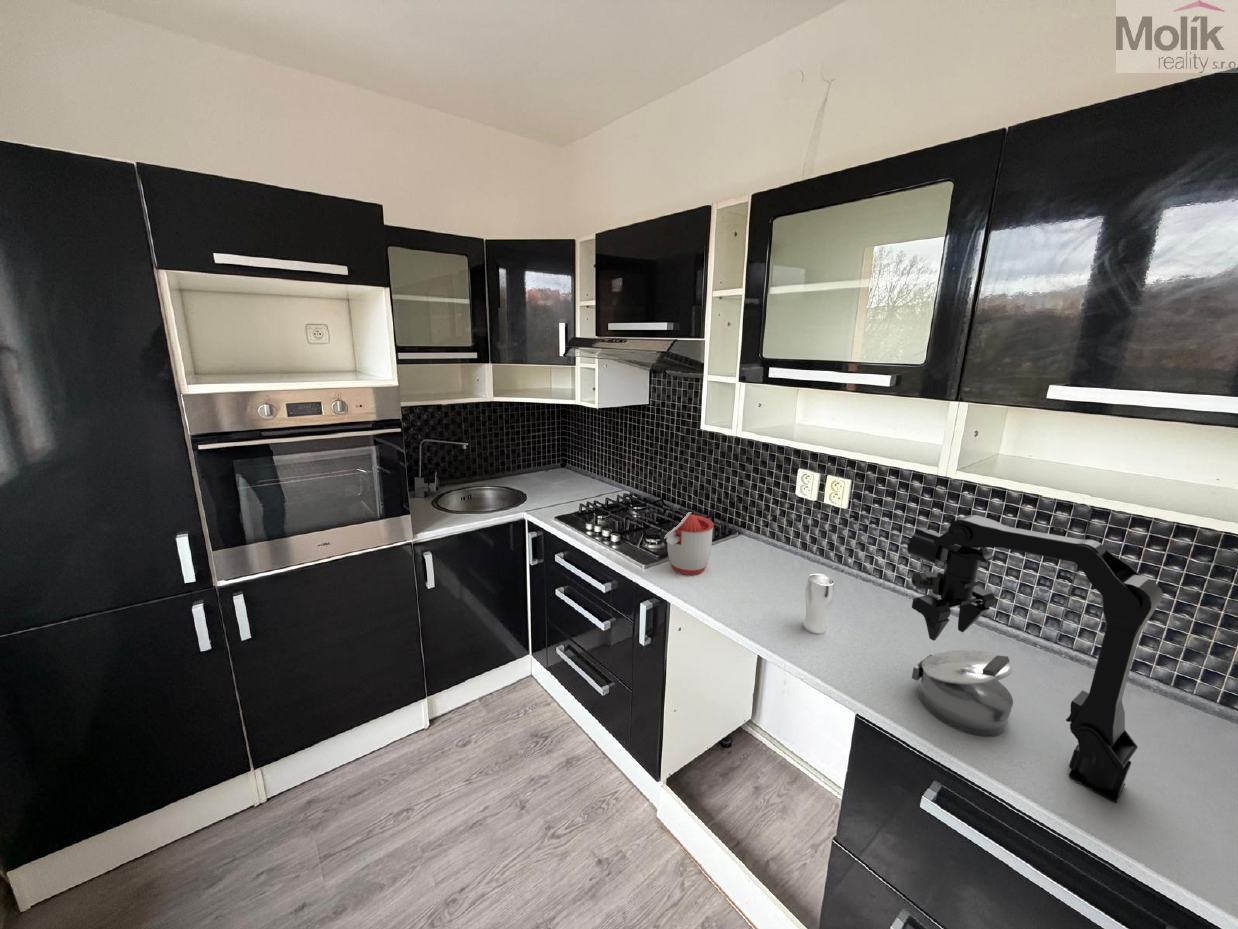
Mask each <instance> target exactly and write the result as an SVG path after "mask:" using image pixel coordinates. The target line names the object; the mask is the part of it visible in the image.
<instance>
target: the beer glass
mask: <svg viewBox="0 0 1238 929" xmlns="http://www.w3.org/2000/svg"><path fill="white" fill-rule="evenodd" d="M834 593H835V580H834V578H832V577H831V576H829V575H827V574H823V573H812V574H811V573H810V574H809V575H808V579H807V583H806V588H805V612H806V613H805V618H804V621H803V623H802V627H803V628H804V629H805V630H806V631H807V632H809V633H812V634H815V635H822V634H824V633H826V632H827V630H828V628H827V618H828V614H829V611H830V609H831V606H832V603H833V599H834Z"/></svg>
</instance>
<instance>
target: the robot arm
mask: <svg viewBox="0 0 1238 929" xmlns="http://www.w3.org/2000/svg"><path fill="white" fill-rule="evenodd" d="M906 547H907V548H906V550H907V554H909V555H910V556H913V557H917V558H919V559H921V560H923V561H927V562H930V563H931V564H935V565H937V564H939V563H940V562H942V563H943V562H945V564H944V569H943V571H939V572H935V571H923V572H920V571H916V572H913V573H912V577H911V579H910V582H911V584H912V585H913V587H916V588H917V589H919V590H921V589H925V590H932V591H931V593H932V594H934V595H935V596H940V597H939V598H940V599H937V598H936V597H934V596H932V595H930V594H925V595H922V596H918V597H917V596H916V597H915V598H912V602H911V603H912V604H911V609H913V610H914V611H916V612H918V613H919V614H921V615H922V616H923V617H924V621H925V624H926V629H927V632H928V633H927V634H928V638H929V639H930V640H932V641H936V640H937V638H939V636H940V635H941V634H942V632H943V631H944V629H945V627H946V626H947V625H948V623H949V621H950V619H949V618H950V616H951V614H952V613H951V612H952V610H951V609H953V608H958V607H959V610H958V621H957V630H958V631H959V632H960V633H964V632H965V631H966V630H968V629H969V627H970V626H972V625H973V624H974V623H975V622H976V621H977V620H978V619H980V617H982V616H983V615H984V614H985V613H986V612H988V611H989V610H990V608H992V607H994V606H995V603H996V601H997V600H996V596H995V595H994V593H993V592H992V591H990V590H987V589H984V588H982V587H980V584H981V580H980V579H977V575H978V572H979V567H980V563H981V562H982V563H987V562H990V561H992V560H994V557H995V556H994V555H993V554H992V553H991V552H990V551H989V549H988V548H990V549H991V548H999V549H1000V548H1001V549H1006V550H1011V551H1016V552H1021V553H1027V554H1031V555H1035V556H1041V557H1045V558H1050V559H1057V560H1061V561H1066V562H1071V563H1074V564H1076V565H1077V567H1079V568H1080V569H1081V570H1082V572H1083V573H1084V575H1085V577H1086V578H1087V579H1088V581H1089V582H1090V584H1091V585H1092V587H1093V588H1094V589H1096V591H1097V592H1098V593H1099V594H1100V595H1101V596H1102V614H1103V617H1104V622H1105V630H1104V635H1103V638H1102V643H1101V645H1100V646H1101V647H1100V649H1099V655H1098V658H1097V660H1096V661H1097V662H1096V666H1095V670H1094V673H1093V678H1092V680H1091V685H1090V690H1089V692H1087V691H1085V690H1083V689H1081V691H1080V693H1078V695H1076V697H1074V699H1072V701H1071V702H1070V714H1069V716H1068V717H1067V718H1066V719H1065V721H1066V722H1070V723H1069V730H1070V733H1071V734H1073V736H1074V737H1075V738H1076V740H1077V743H1078V744H1076V746H1075V748H1074V750H1073V752H1072V755H1071V759H1070V762H1069V764H1068V768H1069V769H1070V771H1069V773H1068V777H1069V778H1070V779H1071V780H1074V781H1075V782H1076V783H1079V784H1081V785H1083V786H1084V787H1086V788H1088V789H1090V790H1091V791H1093V792H1095V793H1096V794H1099V795H1100V796H1102V797H1103V798H1106V799H1107V800H1109V801H1111V802H1112V803H1115V804H1116V803H1118V801H1119V799H1120V797H1121V795H1122V793H1123V790H1124V789H1125V786H1126V783H1125V781H1126V779H1127V777H1128V774H1129V770H1130V768H1131V766H1132V765H1131V764H1132V762H1131V761H1130V759H1131V758H1132V756H1134V754H1135V752H1136V750H1138V748H1139V747H1138V745H1137V744H1136V743H1135V741H1134V740H1133V739H1132V737H1131V736H1130V734H1129V733H1128V732H1127V730H1126V722H1125V721H1126V720H1125V719H1126V718H1125V717H1126V716H1125V714H1126V713H1125V707H1124V705H1123V697H1124V693H1125V688H1126V686H1127V681H1128V678H1129V675H1130V671H1131V668H1132V665H1133V664H1132V663H1133V661H1134V658H1135V654H1136V649H1137V646H1138V642H1139V639H1140V635H1141V632H1142V630H1143V628H1144V627H1145V626H1146V624H1147V623H1148V621H1149V620H1150V618H1151V617H1152V616H1153V614H1154V612H1155V610H1156V609H1157V608H1158V606H1159V604H1160V603H1161V601H1162V599H1163V591H1162V588H1161V587H1160V586H1159V585H1158V584H1157V583H1156V582H1155V581H1153V580H1152V579H1151V578H1149V577H1146V576H1144V575H1141V574H1140V573H1139V572H1138V571H1137V570H1136V569H1135V568H1133V567H1132V565H1130V564H1129V563H1127V561H1126V562H1125V561H1124V560H1123V559H1121V558H1119V557H1118V556H1116V555H1115V554H1114V553H1112V552H1111V551H1110V550H1109V549H1107V547H1105V546H1104V544H1102V543H1101V542H1099V541H1098V540H1094V539H1082V538H1074V537H1070V536H1069V537H1068V536H1063V535H1058V534H1052V533H1046V532H1041V531H1034V530H1029V529H1023V528H1017V527H1011V526H1008V525H1004V524H1003V523H1000V522H998V521H996V520H994V519H991V518H987V517H985V516H981V515H978V514H969V515H966V516H963V517H961V518H958V519H955V520H954V521H952V522H951V523H950V524H949V526H948V530H947V531H946V532H945V533H942V534H941V533H939V532H934V531H933V530H929V529H927V528H925V527H923V526H922V527H921V526H920V527H918V528H915V532H914V533H913V535H912V536H911V537H910V540H909V542H908V543H907V546H906Z"/></svg>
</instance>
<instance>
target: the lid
mask: <svg viewBox="0 0 1238 929" xmlns="http://www.w3.org/2000/svg"><path fill="white" fill-rule="evenodd" d="M927 656H928V657H927ZM927 656H926V657H927V658H926V657H925V658H924V660H923V659H922V660H923V661H922V660H920V661H919V662H918V663H919V664H918V663H917V664H918V666H919V667H920V668H923V671H924V673H925V674H926V675H927V676H929V677H931V678H933V679H935V680H938V681H942V682H947V683H953V684H983V683H990V682H994V681H1000V680H1003V679H1005V678H1007V677H1008V676H1010V675H1011V674H1012V671H1013V668H1012V664H1011V662H1010V658H1009V656H1007V655H1006V656H1005V655H1000V654H997V653H994V652H990V651H984V650H975V649H974V650H973V649H967V650H966V649H963V650H961V649H959V650H948V651H944V652H939V653H936V654H929V655H927Z"/></svg>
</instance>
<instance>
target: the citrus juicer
mask: <svg viewBox="0 0 1238 929" xmlns="http://www.w3.org/2000/svg"><path fill="white" fill-rule="evenodd" d="M714 527H715V525H714V522H713V521H712V520H711V519H709V518H707V517H705V516H702V515H697V514H692V513H689V514H688V515H687V517H686V518H685V519H684V520H683V521H682V523H681V524H680V525H679V526H678V527H677V528H675V529H674V530H673V531H672V532H670V533H669V534H668V535H667V536H666V538H665V539H666V543H667V555H668V560H669V564H670V566H671V569H672V570H673V571H675V572H677V573H679V574H681V575H682V574H683V575H685V576H691V575H699V574H701V573H703V572H704V571H705V569H706V568H707V566H708V564H709V560H710V559H711V552H712V544H713V543H712V542H713V530H714V529H713V528H714Z"/></svg>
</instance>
